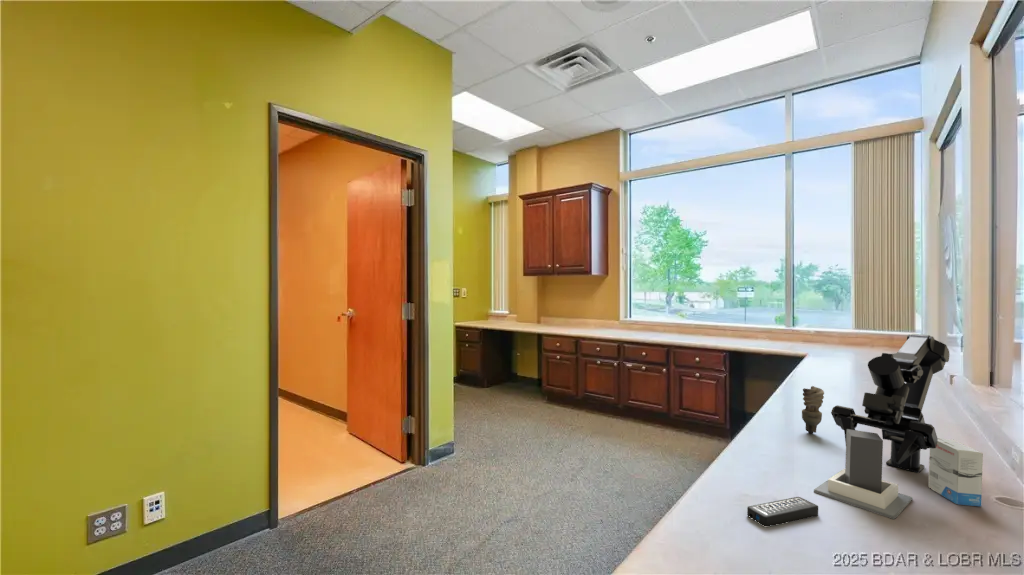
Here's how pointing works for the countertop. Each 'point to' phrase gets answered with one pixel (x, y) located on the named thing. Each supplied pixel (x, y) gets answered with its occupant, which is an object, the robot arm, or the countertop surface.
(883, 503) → the socket board
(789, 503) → the multiport hub
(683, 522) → the countertop surface
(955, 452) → the ink box
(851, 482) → the plug
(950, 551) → the countertop surface
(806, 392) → the light bulb
